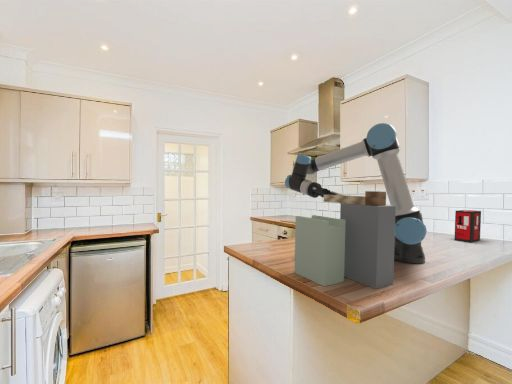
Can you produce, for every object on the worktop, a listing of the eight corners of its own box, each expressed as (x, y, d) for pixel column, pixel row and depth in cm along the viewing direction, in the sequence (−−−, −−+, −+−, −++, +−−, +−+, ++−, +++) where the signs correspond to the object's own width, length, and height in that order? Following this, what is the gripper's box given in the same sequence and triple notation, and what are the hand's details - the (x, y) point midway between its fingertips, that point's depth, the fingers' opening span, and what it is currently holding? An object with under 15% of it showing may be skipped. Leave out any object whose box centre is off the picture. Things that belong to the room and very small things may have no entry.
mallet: (321, 201, 110) (322, 190, 110) (329, 201, 113) (329, 190, 112) (378, 206, 89) (378, 191, 89) (385, 205, 92) (386, 191, 92)
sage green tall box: (294, 272, 102) (295, 216, 101) (313, 268, 107) (314, 215, 106) (324, 286, 88) (325, 221, 88) (343, 281, 93) (345, 219, 93)
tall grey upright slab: (338, 274, 100) (340, 203, 100) (355, 270, 106) (357, 202, 105) (376, 289, 87) (378, 206, 86) (393, 283, 92) (395, 205, 91)
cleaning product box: (463, 238, 181) (464, 209, 181) (479, 240, 174) (481, 211, 173) (454, 240, 172) (455, 210, 171) (471, 243, 164) (472, 212, 164)
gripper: (319, 201, 139) (356, 215, 124) (295, 189, 121) (334, 203, 106) (325, 188, 138) (362, 200, 124) (301, 174, 120) (341, 186, 106)
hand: (349, 202), depth 115 cm, fingers open, 13 cm apart
